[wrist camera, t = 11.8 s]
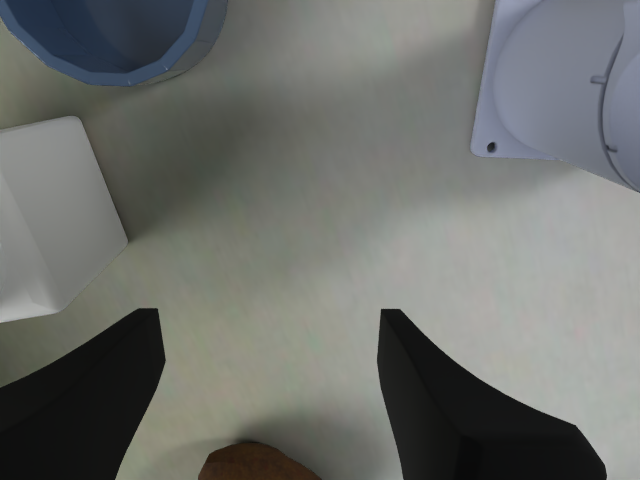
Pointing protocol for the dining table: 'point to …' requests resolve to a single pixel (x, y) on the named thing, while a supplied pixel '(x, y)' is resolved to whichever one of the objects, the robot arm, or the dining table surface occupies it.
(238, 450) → the potato
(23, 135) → the medicine bottle
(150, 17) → the cup
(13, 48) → the dining table surface
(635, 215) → the dining table surface
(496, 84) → the robot arm
